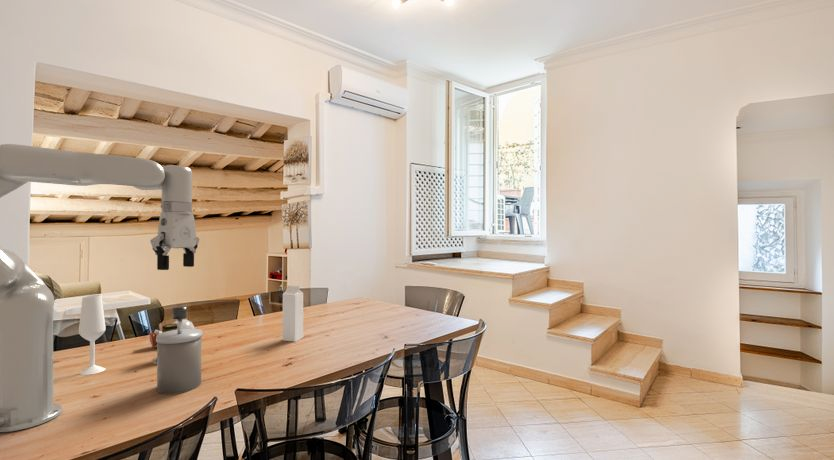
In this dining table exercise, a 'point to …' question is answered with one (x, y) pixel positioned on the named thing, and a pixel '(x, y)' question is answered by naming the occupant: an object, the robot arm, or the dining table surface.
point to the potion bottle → (185, 323)
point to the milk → (292, 314)
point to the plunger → (179, 316)
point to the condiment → (164, 329)
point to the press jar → (178, 361)
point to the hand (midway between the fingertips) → (176, 268)
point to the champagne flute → (92, 327)
